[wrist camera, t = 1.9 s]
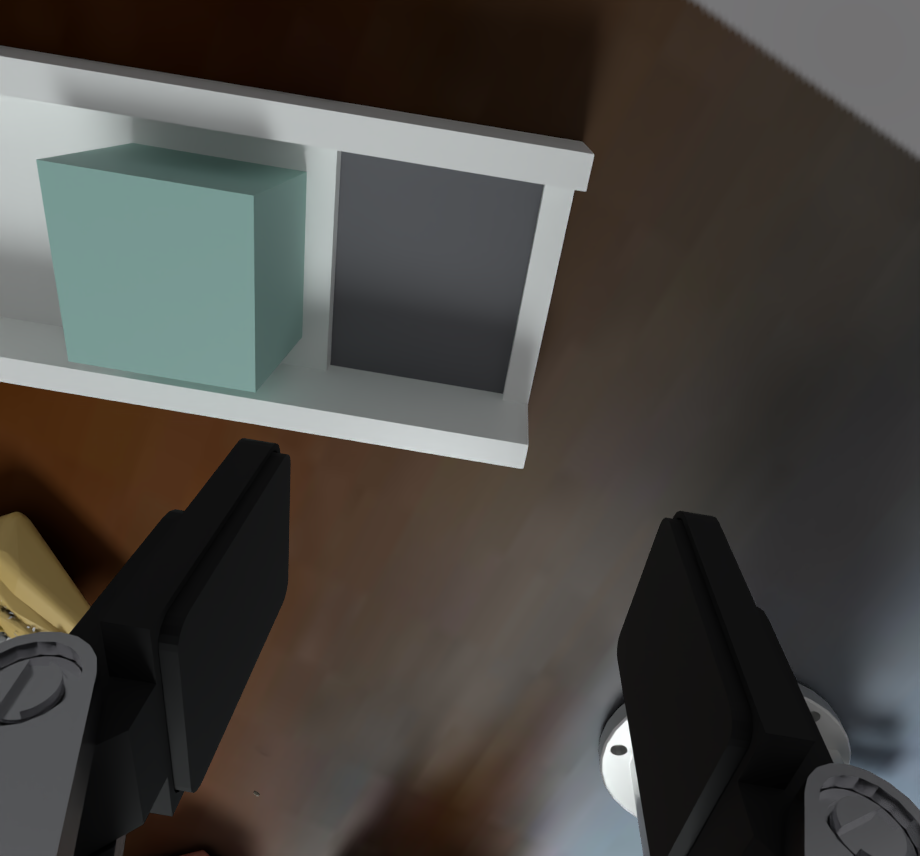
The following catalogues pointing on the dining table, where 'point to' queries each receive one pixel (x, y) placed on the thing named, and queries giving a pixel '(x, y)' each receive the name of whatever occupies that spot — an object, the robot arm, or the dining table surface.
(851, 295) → the dining table surface
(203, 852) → the pink cube
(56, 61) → the trough
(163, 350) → the green block
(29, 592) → the figurine with sign
